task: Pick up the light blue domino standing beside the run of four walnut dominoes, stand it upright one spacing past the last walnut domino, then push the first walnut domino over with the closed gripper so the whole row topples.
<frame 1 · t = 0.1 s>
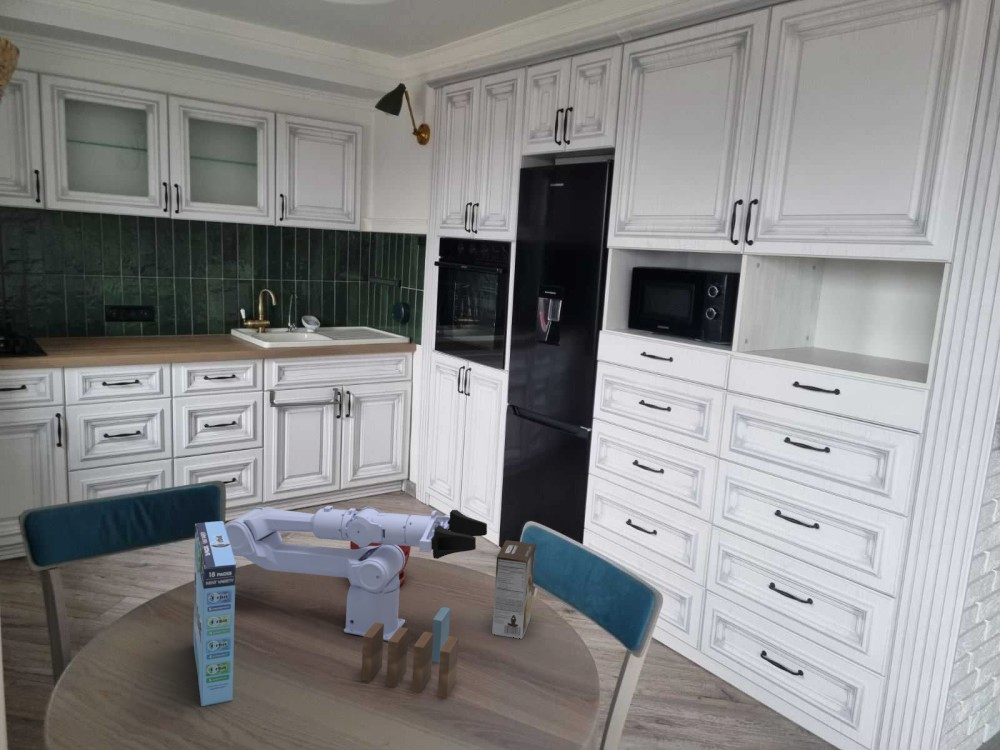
hand: (481, 536, 130), 22 cm above the table, tool horizontal, fingers open, 7 cm apart
walnut domino 1: (371, 673, 123), on the table
walnut domino 3: (421, 683, 121), on the table
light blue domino: (439, 655, 130), on the table
light blue carton box: (212, 672, 120), on the table
walnut domino 2: (396, 678, 122), on the table
walnut domino 4: (446, 688, 120), on the table
coffee box: (511, 627, 142), on the table
plant pot: (379, 582, 158), on the table
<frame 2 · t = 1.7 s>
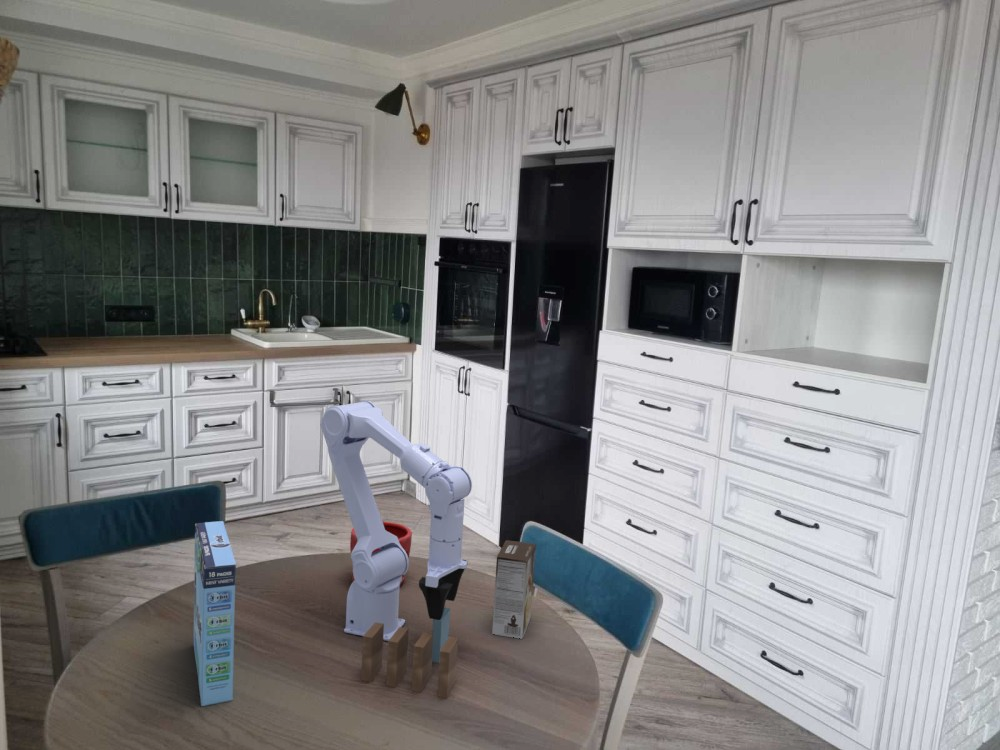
hand: (442, 608, 129), 9 cm above the table, tool pointing down, fingers open, 7 cm apart
nothing on the table moved.
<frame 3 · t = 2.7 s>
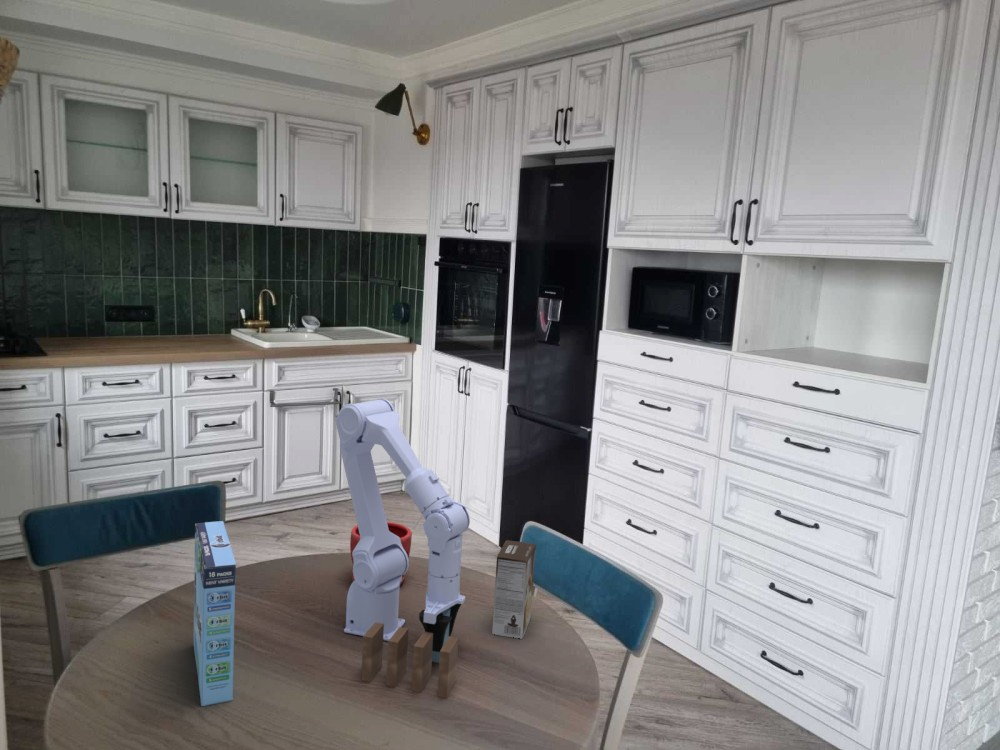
hand: (440, 642, 130), 2 cm above the table, tool pointing down, fingers closed on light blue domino, 5 cm apart
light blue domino: (439, 655, 130), on the table, touching gripper
everything else where it was.
when the fingers open (3 cm above the table, at t = 7.5 s): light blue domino drops 1 cm, on the table.
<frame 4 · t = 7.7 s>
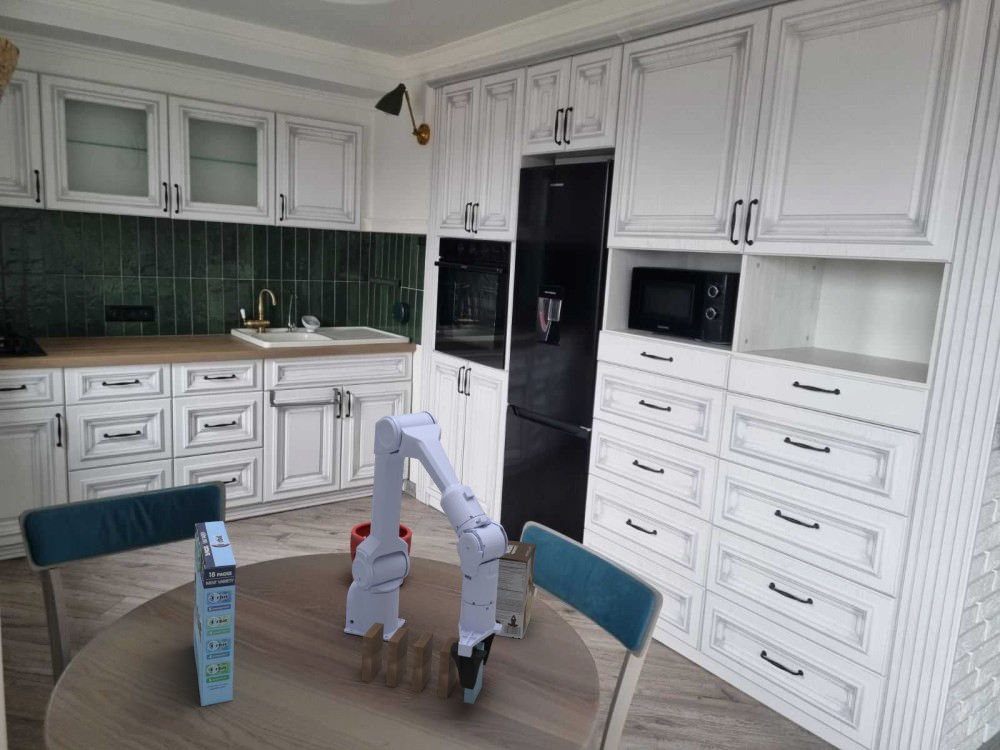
hand: (474, 675, 118), 3 cm above the table, tool pointing down, fingers open, 7 cm apart
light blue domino: (472, 694, 119), on the table
everything else where it was.
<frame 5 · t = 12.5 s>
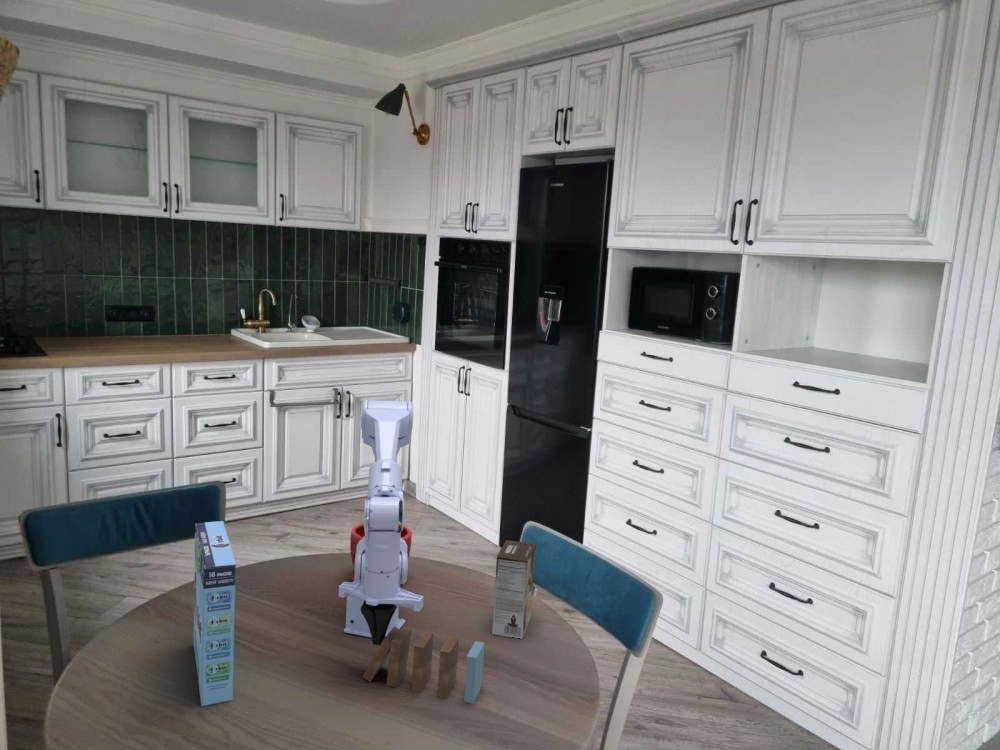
hand: (378, 642, 122), 6 cm above the table, tool pointing down, fingers closed
walnut domino 1: (372, 671, 123), on the table, tilted 25°
everything else where it was.
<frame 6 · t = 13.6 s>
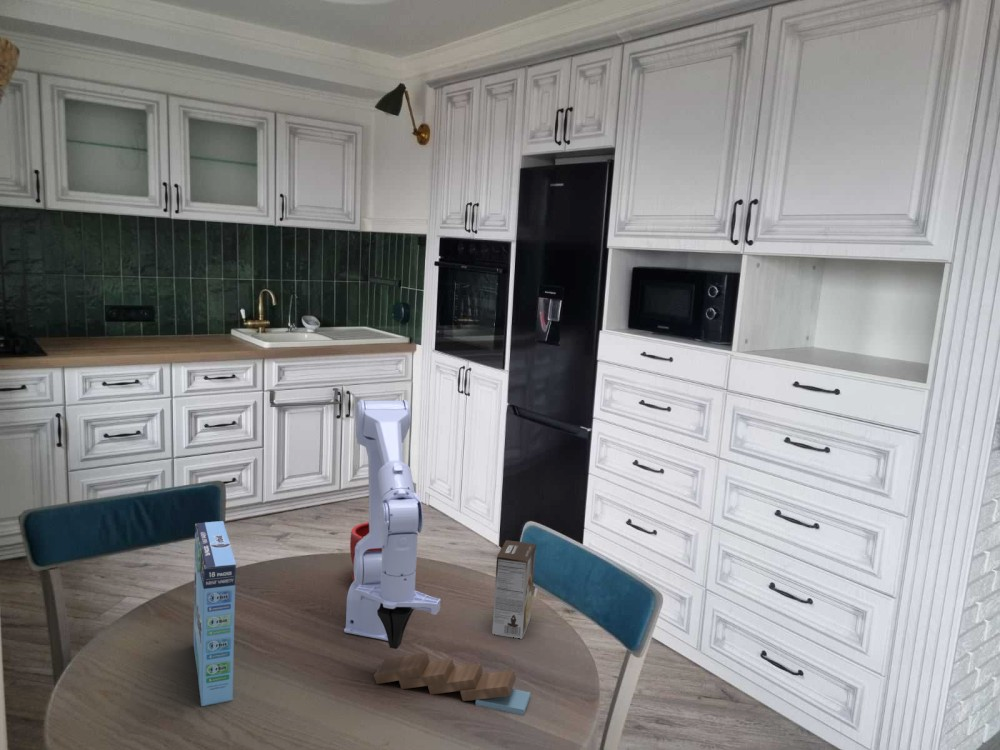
hand: (395, 645, 121), 6 cm above the table, tool pointing down, fingers closed
walnut domino 1: (380, 671, 122), point 1 cm above the table, tilted 70°, touching walnut domino 2
walnut domino 3: (433, 681, 120), point 1 cm above the table, tilted 71°, touching walnut domino 2, walnut domino 4
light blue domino: (479, 695, 118), on the table, tilted 90°, touching walnut domino 4
walnut domino 2: (405, 676, 121), point 1 cm above the table, tilted 71°, touching walnut domino 1, walnut domino 3
walnut domino 4: (465, 688, 119), point 1 cm above the table, tilted 72°, touching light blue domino, walnut domino 3
everything else where it was.
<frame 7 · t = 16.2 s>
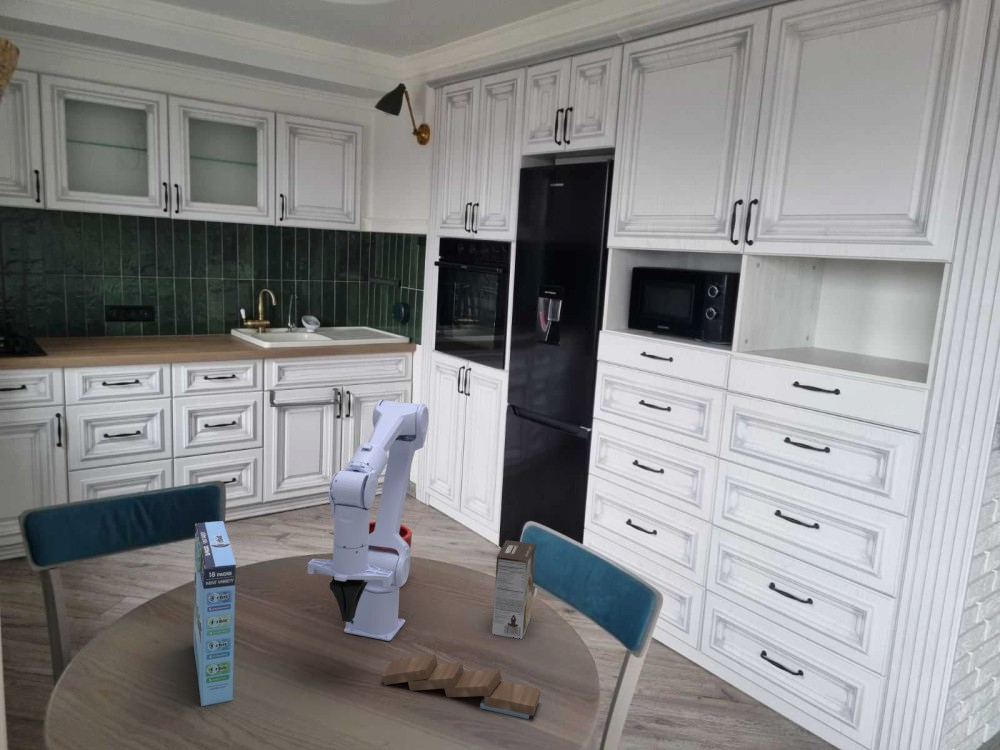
hand: (348, 619, 121), 10 cm above the table, tool pointing down, fingers closed
walnut domino 1: (388, 672, 122), point 1 cm above the table, tilted 70°, touching walnut domino 2
walnut domino 3: (452, 684, 120), point 1 cm above the table, tilted 70°, touching walnut domino 2
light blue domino: (484, 699, 118), on the table, tilted 90°, touching walnut domino 4
walnut domino 2: (414, 678, 121), point 1 cm above the table, tilted 74°, touching walnut domino 1, walnut domino 3
walnut domino 4: (488, 692, 117), point 2 cm above the table, tilted 89°, touching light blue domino
everything else where it was.
at the end: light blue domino tilted 90°; walnut domino 4 tilted 90° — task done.
